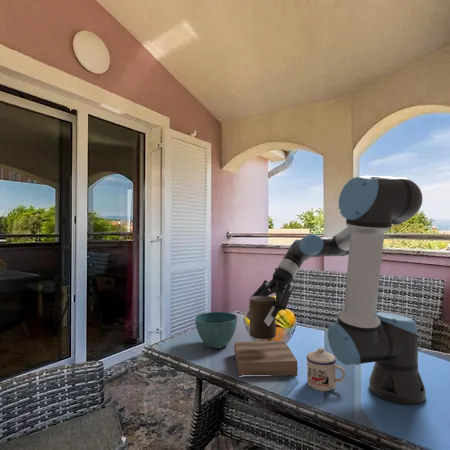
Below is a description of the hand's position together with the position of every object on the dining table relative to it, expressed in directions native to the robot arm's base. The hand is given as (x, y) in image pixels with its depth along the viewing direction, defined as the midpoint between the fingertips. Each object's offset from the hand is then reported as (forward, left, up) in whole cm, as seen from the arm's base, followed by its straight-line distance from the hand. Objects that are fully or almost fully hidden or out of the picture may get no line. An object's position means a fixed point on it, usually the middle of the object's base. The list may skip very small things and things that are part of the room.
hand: (256, 320), depth 119 cm
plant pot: (+22, +14, -17) cm, 32 cm away
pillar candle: (+2, -3, -6) cm, 7 cm away
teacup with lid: (-17, -20, -17) cm, 31 cm away
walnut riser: (+1, -3, -17) cm, 17 cm away
